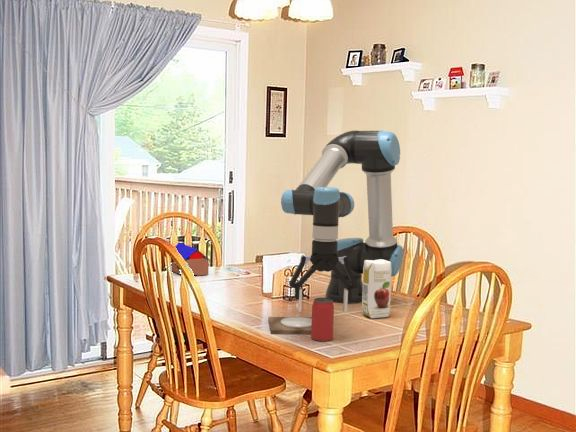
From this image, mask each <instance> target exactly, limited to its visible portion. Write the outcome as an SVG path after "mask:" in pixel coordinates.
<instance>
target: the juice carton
mask: <svg viewBox="0 0 576 432" xmlns="http://www.w3.org/2000/svg"><path fill="white" fill-rule="evenodd" d="M391 271H392V270H391V262H389V261H387V260H383V259H379V260H365V261H364V267H363V274H362V283H363V291H362V302H361V310H362V311H361V313H362V314H363V316H366V317H368V318H370V319H379V318H388V317H389V316H390V309H391V294H392V293H391V292H392V291H391V288H392V276H391Z"/></svg>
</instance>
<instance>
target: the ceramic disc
mask: <svg viewBox="0 0 576 432" xmlns="http://www.w3.org/2000/svg"><path fill="white" fill-rule="evenodd" d="M289 317H290V318H285V319H282V320H281V324H282V325H283V326H286V327H291V328H309V327H311V325H312V319H309V318H303V317H304V316H289Z"/></svg>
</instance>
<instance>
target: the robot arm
mask: <svg viewBox="0 0 576 432" xmlns="http://www.w3.org/2000/svg"><path fill="white" fill-rule="evenodd" d="M400 156H401V146H400V142H399V139H398V137H397V135H396V134H395V133H394V132H392V131H389V130H388V131H387V130H386V131H384V130H350V131H345V132H344V133H341V134H339V135H337V136H336V137H334V138H333V139H331V140H330V141H329V142H328V143H327V144H326V145H325V146H324V147H323V149H322V151H321V156H320V157H319V159H318V160H317V161H316V163H314V165H313V167H312V168H311V169H310V170H309V171H308V173H307V174H306V176H305V177H304V178H303V179H302V181H301V182H300V183H299V185H298V186H297V187H296V189H286V190H284V191H283V193H282V196H281V198H280V204H281V205H280V206H281V209H282V212H284V213H285V214H289V215H290V214H291V215H302V216H312V237H311V238H312V239H313V240H312V242H311V255H310V256H306V255H304V254H302V255H301V256H300V260H299V261H300V262H299V264H298V266H297V268H296V270H295V271H294V272H293V274H292V277H291V278H290V280H289V283H288V285H289V287H291V288H294V300H297V311H298V312H299V313H300V312H302V303H303V289H302V286H303V285H304V284H306V281H308V280H309V279H310V278H311V276H312V275H313V274H315V273H316V272H327V273H328V272H330V279H329V283H328V284H327V285H328V286H327V288H326V291H325V298H330V299H332V300H333V301H332V302H333V303H338V304H339V303H340V304H342V305H343V306H342V307H343V308H342V310H343V312H344V313H348V304H359V303H362V291H363V267H364V261H365V260H379V259H383V260H387V261H389V262H391V270H392V271H391V277H396V275H397V274H398V273H399V271H400V269H401V266H402V262H403V258H404V248H403V246H401V244H399V245H398V239H397V237H396V236H394V229H393V203H392V202H393V199H392V172H394V170H395V169H396V166H398V165H399V163H400V159H401V157H400ZM349 164H358V165H361V171H362V173H364V174H365V175H366V195H367V197H366V198H367V214H368V234H369V236H368V237H367V238H366V239H365V242H364V239H363V238H361V237H349V238H340V239H339V219H340V218H345V217H347V216H348V215H350V214H352V212H353V211H354V208H355V200H354V198H353V196H352V195H351V194H349V193H347V192H344V191H340V189H339V188H338V187H333V186H332V187H331V186H329V187H328V185H329V184H330V182H332V180H333V179H334V177H335V175H336V174H337V173H338V172H339V171H340V170H341V169H343V168H345V167H346V165H349ZM309 262H310V263H311V264H312V265H311V266H310V268H308V270H307V271H306V272H305V273H304V274H303V275H302V277H301V278H300V279H298V278H299V276H300V274H301V273H302V271H303V269H304V268H305V265H306V264H308V263H309ZM297 280H298V281H297Z"/></svg>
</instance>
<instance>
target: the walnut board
mask: <svg viewBox="0 0 576 432" xmlns="http://www.w3.org/2000/svg"><path fill="white" fill-rule="evenodd" d="M290 317H291V316H268V320H267V322H268V326H269V331H270V335H311V327H309V328H291V327H286V326H283V325H282V324H281V320H282V319H285V318H290ZM302 317H303V318H309V319H312V316H302Z"/></svg>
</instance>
